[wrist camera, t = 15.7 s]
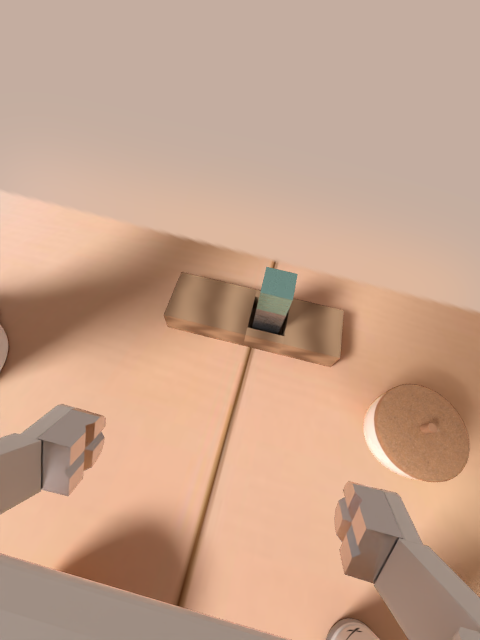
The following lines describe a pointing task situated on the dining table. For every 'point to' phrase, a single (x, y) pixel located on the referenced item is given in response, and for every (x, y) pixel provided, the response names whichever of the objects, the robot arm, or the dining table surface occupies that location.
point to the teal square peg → (274, 300)
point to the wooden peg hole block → (238, 315)
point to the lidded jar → (417, 434)
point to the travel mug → (351, 631)
